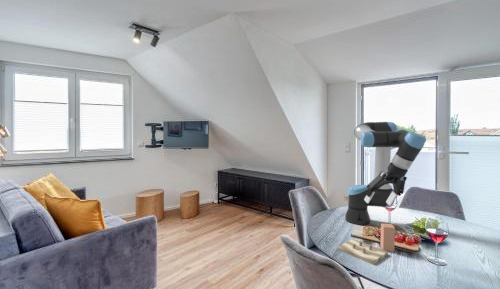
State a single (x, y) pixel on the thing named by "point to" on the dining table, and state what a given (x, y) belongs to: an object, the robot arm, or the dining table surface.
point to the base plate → (363, 251)
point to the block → (387, 237)
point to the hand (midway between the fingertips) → (377, 202)
